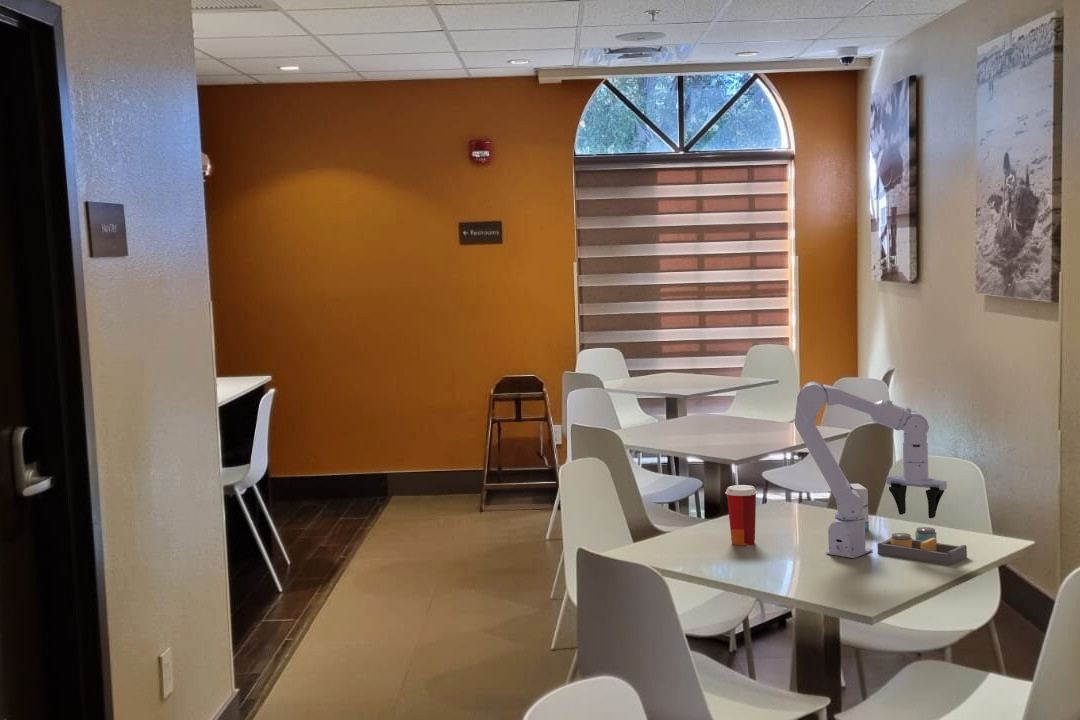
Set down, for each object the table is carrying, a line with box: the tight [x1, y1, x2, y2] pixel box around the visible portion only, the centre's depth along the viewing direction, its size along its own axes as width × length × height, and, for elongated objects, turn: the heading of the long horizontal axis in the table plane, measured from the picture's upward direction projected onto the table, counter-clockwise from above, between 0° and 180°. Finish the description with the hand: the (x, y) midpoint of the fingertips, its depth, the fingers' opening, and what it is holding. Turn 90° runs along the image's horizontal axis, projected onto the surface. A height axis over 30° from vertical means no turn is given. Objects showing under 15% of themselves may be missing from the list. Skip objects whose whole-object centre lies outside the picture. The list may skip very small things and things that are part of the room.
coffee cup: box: [724, 484, 758, 547], centre depth 268 cm, size 8×8×15 cm
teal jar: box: [914, 526, 938, 543], centre depth 257 cm, size 5×5×4 cm
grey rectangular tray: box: [877, 538, 968, 566], centre depth 248 cm, size 9×18×3 cm, turn 43°
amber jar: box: [890, 532, 913, 548], centre depth 252 cm, size 5×5×4 cm
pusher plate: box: [920, 537, 938, 552], centre depth 247 cm, size 6×1×4 cm, turn 133°
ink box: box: [850, 483, 870, 532], centre depth 279 cm, size 8×5×12 cm, turn 179°
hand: (917, 515), depth 250 cm, fingers open, 7 cm apart
